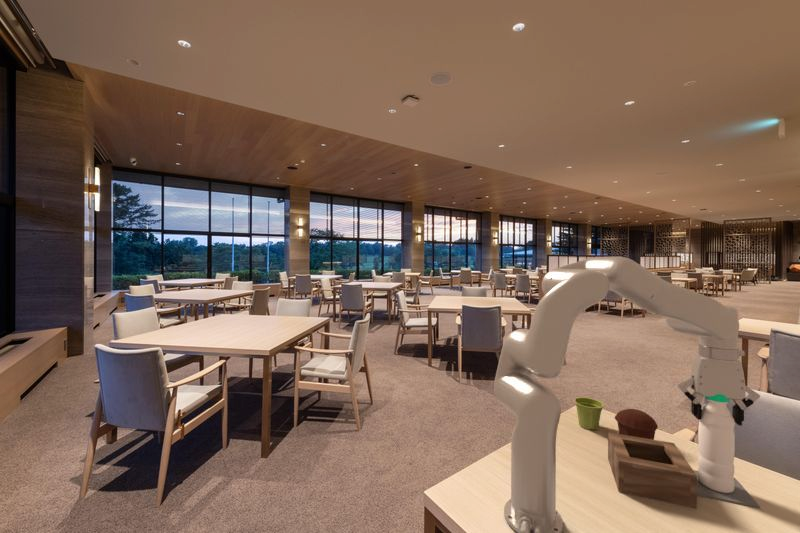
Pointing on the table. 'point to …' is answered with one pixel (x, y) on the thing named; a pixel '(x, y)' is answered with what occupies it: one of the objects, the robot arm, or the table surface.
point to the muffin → (636, 423)
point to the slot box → (652, 470)
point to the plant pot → (588, 412)
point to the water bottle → (716, 445)
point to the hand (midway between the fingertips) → (716, 419)
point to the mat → (727, 494)
